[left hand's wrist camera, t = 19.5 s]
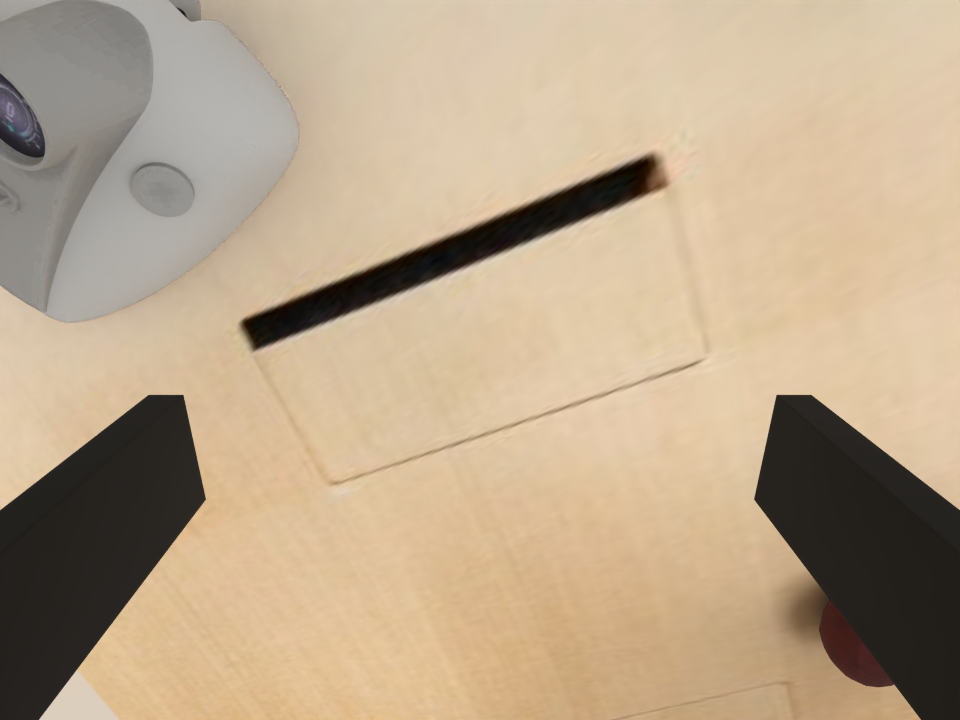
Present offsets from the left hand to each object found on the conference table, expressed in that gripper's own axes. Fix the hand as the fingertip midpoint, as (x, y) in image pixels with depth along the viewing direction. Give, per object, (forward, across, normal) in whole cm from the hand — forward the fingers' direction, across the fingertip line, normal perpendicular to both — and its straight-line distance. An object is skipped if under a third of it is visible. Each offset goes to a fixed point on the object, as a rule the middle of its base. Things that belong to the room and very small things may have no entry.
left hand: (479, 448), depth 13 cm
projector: (+29, -23, +5) cm, 37 cm away
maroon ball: (+29, +33, -33) cm, 55 cm away
